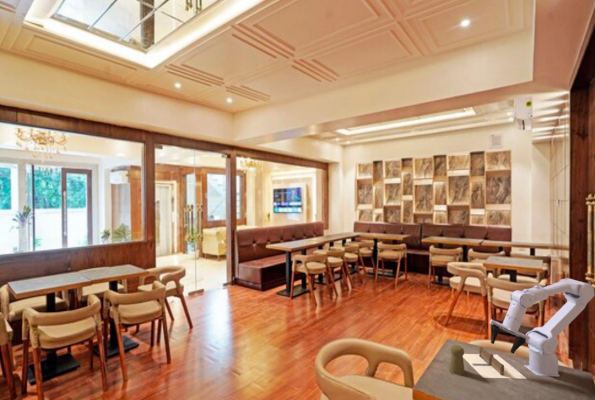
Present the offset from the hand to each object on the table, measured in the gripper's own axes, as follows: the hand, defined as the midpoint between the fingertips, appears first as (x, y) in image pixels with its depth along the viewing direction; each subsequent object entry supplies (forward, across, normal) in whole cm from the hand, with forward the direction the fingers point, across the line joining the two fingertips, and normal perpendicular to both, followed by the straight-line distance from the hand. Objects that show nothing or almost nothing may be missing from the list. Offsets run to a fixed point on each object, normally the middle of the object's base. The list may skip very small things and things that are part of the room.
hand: (501, 347), depth 132 cm
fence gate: (+10, +2, +1) cm, 10 cm away
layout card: (+10, 0, +5) cm, 12 cm away
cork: (+17, -13, -5) cm, 22 cm away
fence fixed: (+9, -1, +9) cm, 13 cm away
